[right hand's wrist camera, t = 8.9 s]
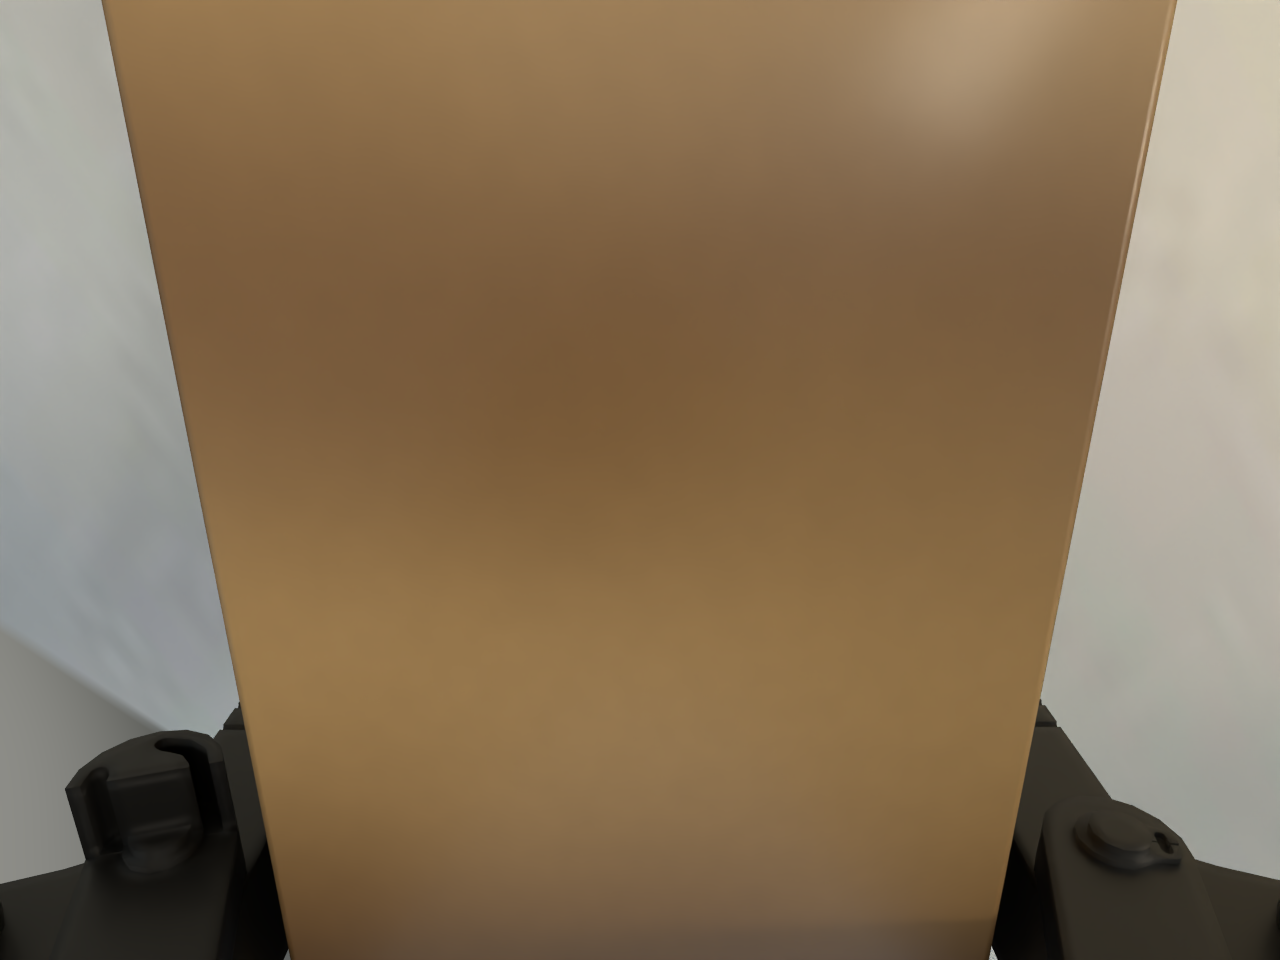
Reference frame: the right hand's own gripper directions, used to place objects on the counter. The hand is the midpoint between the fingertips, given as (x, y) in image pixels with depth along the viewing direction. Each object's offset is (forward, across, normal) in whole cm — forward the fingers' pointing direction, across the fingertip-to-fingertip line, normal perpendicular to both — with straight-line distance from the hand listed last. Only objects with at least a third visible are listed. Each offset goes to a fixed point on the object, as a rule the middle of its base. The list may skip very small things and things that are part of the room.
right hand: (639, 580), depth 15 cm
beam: (+1, 0, -28) cm, 28 cm away
